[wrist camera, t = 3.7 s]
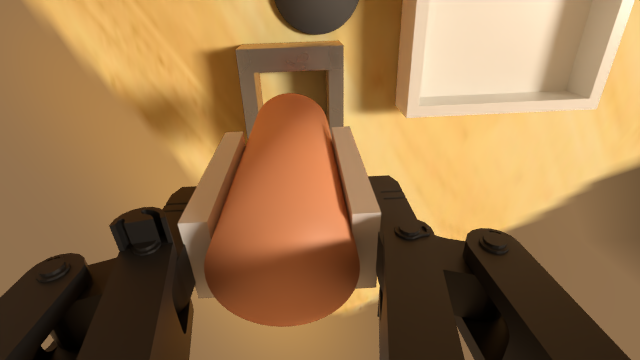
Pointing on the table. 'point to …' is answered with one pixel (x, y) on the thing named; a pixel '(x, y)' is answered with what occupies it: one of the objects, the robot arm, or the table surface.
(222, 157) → the robot arm
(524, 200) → the table surface
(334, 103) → the pin mount
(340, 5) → the pin pad
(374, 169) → the table surface
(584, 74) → the dock cradle
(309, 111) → the pin
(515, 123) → the table surface
